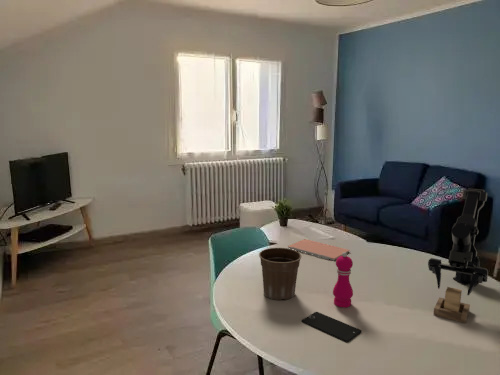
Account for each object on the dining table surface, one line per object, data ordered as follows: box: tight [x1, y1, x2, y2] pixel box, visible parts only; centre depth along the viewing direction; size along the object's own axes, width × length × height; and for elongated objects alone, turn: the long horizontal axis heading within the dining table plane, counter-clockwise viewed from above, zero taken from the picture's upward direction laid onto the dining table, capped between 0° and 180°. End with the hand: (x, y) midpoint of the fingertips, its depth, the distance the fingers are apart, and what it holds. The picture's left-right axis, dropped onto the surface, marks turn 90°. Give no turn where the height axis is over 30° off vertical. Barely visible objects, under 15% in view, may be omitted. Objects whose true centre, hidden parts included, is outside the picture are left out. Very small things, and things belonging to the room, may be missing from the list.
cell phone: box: [301, 311, 362, 343], centre depth 133 cm, size 9×18×1 cm, turn 45°
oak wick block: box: [443, 286, 463, 313], centre depth 141 cm, size 4×4×8 cm
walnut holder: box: [433, 296, 471, 324], centre depth 141 cm, size 10×10×2 cm
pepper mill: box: [332, 252, 354, 308], centre depth 147 cm, size 7×7×20 cm
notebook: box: [287, 238, 350, 261], centre depth 205 cm, size 27×17×2 cm, turn 49°
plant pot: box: [258, 247, 302, 301], centre depth 155 cm, size 16×16×16 cm
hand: (453, 291), depth 139 cm, fingers open, 9 cm apart
